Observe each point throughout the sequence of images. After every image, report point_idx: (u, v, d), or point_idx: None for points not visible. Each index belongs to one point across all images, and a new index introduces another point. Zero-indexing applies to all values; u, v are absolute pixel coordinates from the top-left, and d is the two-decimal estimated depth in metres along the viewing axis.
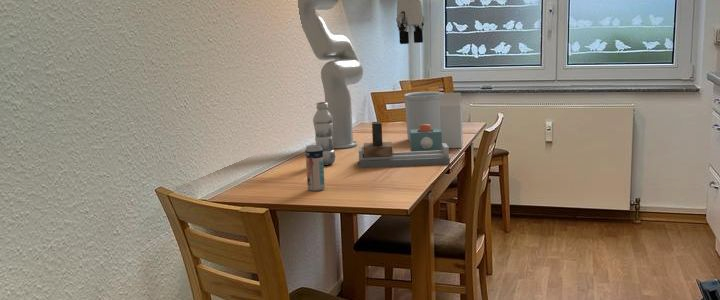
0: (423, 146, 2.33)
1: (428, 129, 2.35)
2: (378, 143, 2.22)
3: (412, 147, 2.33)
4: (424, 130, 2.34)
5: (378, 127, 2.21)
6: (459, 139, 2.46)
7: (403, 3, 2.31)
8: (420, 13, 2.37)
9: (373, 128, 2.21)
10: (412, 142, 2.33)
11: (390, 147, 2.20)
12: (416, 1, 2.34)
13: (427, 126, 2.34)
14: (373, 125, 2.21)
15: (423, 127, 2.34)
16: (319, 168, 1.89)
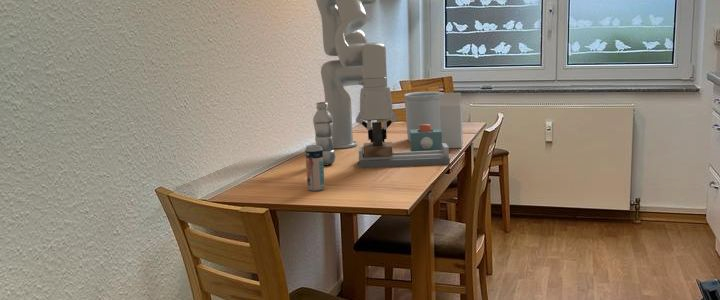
0: (423, 146, 2.33)
1: (428, 129, 2.35)
2: (378, 143, 2.22)
3: (412, 147, 2.33)
4: (424, 130, 2.34)
5: (378, 127, 2.21)
6: (459, 139, 2.46)
7: None
8: None
9: (373, 128, 2.21)
10: (412, 142, 2.33)
11: (390, 147, 2.20)
12: None
13: (427, 126, 2.34)
14: (373, 125, 2.21)
15: (423, 127, 2.34)
16: (319, 168, 1.89)
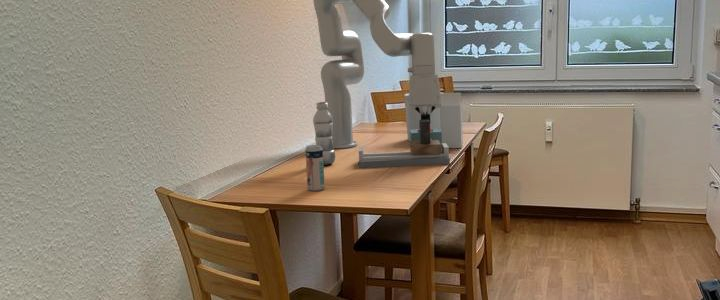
0: None
1: None
2: (426, 141, 2.21)
3: None
4: None
5: (426, 124, 2.20)
6: (459, 139, 2.46)
7: None
8: None
9: (421, 126, 2.21)
10: None
11: (438, 145, 2.19)
12: None
13: None
14: (421, 123, 2.20)
15: None
16: (319, 168, 1.89)
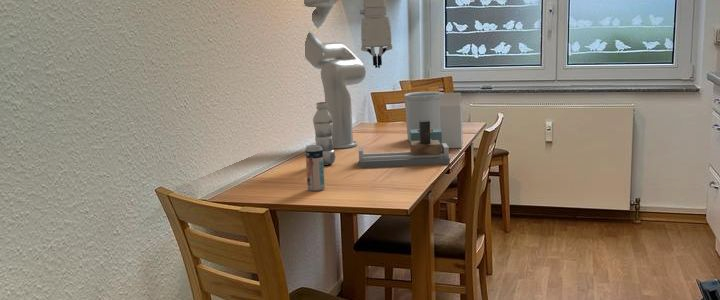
0: None
1: None
2: (426, 141, 2.21)
3: None
4: None
5: (426, 124, 2.20)
6: (459, 139, 2.46)
7: None
8: None
9: (421, 126, 2.21)
10: None
11: (438, 145, 2.19)
12: None
13: None
14: (421, 123, 2.20)
15: None
16: (319, 168, 1.89)
